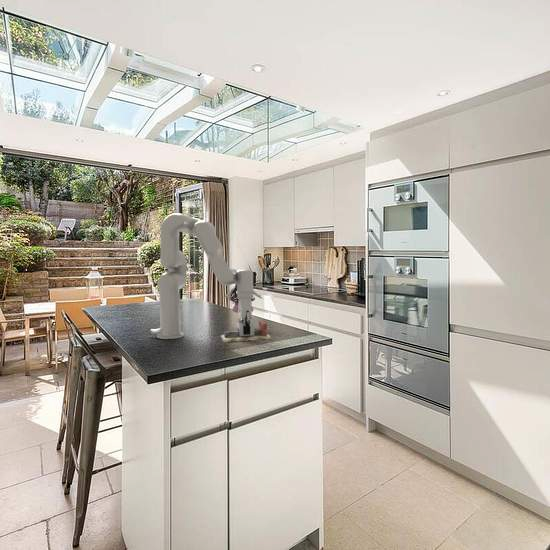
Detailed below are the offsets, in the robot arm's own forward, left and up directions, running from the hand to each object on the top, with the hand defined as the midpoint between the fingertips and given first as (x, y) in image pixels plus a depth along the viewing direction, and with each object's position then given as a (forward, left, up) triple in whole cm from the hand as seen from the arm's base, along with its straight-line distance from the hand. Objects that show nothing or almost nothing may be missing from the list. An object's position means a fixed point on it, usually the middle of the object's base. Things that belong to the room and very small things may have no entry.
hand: (245, 332), depth 175 cm
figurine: (+4, +25, -3) cm, 25 cm away
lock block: (0, 0, -1) cm, 1 cm away
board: (0, 0, -3) cm, 3 cm away
